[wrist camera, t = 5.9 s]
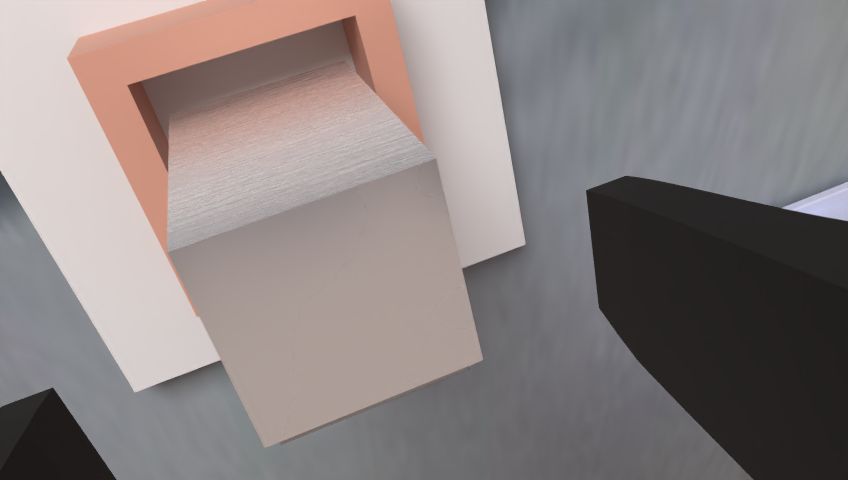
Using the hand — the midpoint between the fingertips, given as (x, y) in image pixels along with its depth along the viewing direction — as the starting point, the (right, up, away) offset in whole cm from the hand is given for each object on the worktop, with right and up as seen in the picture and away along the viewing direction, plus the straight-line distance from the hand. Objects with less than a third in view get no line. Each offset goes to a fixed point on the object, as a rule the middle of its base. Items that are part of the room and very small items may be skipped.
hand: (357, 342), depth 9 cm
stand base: (-3, +5, +9) cm, 10 cm away
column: (-2, +3, +6) cm, 7 cm away
